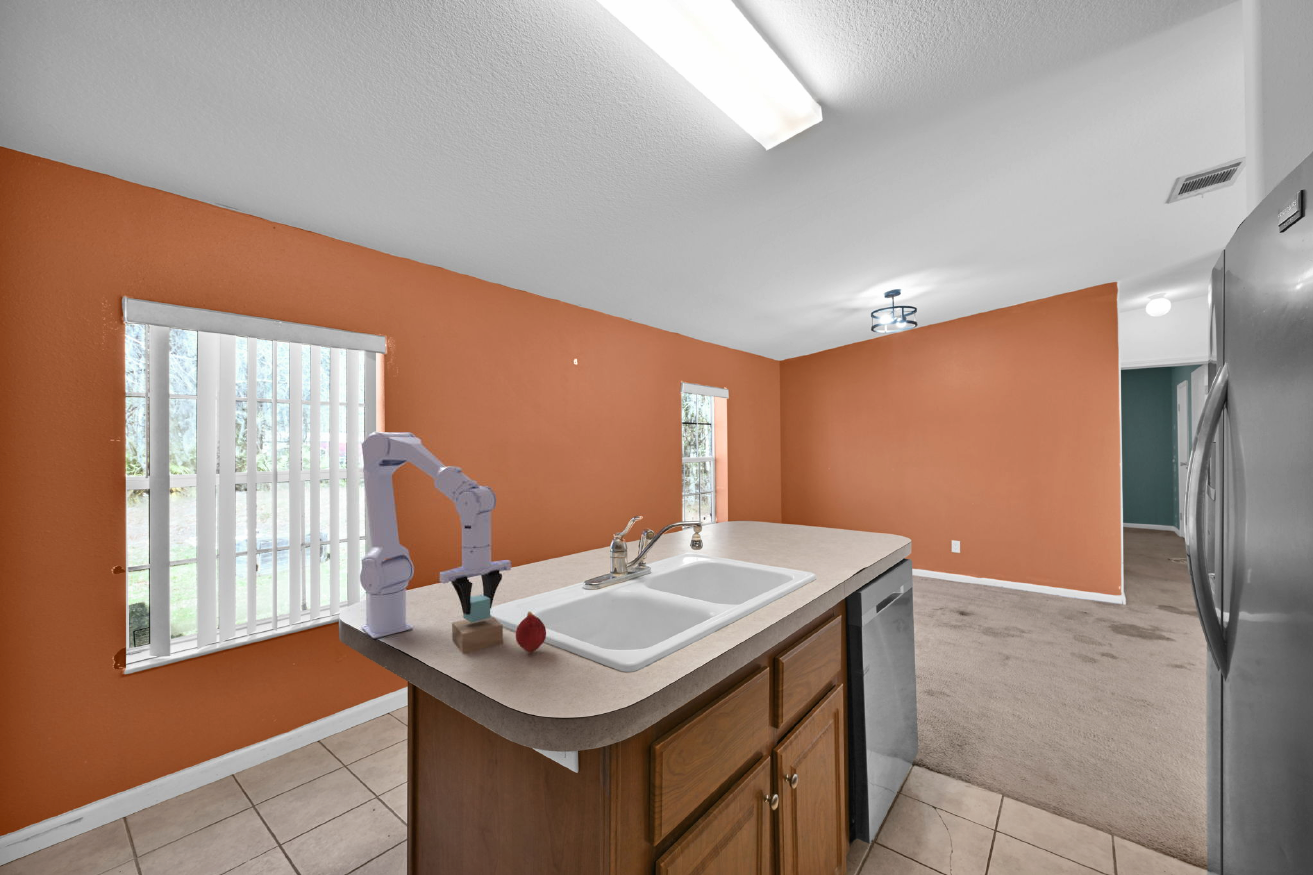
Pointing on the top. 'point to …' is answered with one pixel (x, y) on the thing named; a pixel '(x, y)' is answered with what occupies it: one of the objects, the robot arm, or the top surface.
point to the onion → (530, 633)
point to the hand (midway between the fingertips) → (477, 610)
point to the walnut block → (477, 634)
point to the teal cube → (478, 608)
